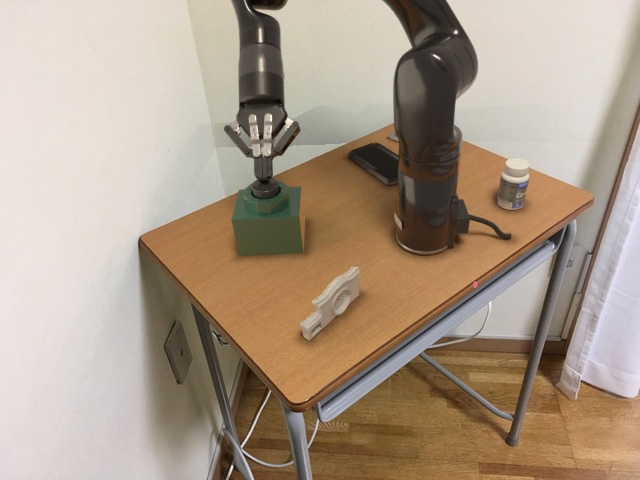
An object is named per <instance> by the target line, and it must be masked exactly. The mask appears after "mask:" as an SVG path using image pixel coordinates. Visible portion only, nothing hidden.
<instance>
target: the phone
mask: <svg viewBox="0 0 640 480" xmlns="http://www.w3.org/2000/svg"><path fill="white" fill-rule="evenodd" d="M348 158H349V159H350V160H351V161H352V162H354V163H355V164H357V165H358V166H360V167H361V168H363V169H364V170H365V171H367V172H368V173H369V174H371V175H372V176H374V177H375V178H376V179H377V180H378V181H380V182H382V183H383V184H384V185H387V186H394V185H396V184H398V160H399V154H397V153H395V152H394V151H393V150H391V149H389V148H387V147H386V146H384V145H383V144H381V143H379V142H371V143H367V144H365V145H362V146H359V147H357V148H354V149H351V150H350V151H349V152H348Z"/></svg>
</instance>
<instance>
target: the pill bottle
mask: <svg viewBox="0 0 640 480" xmlns="http://www.w3.org/2000/svg"><path fill="white" fill-rule="evenodd" d="M530 166H531V165H530V162H529V161H528V160H526V159H523V158H520V157H519V158H518V157H514V158H513V157H512V158H509V159H507V160H505V163H504V169H503V170H502V172H501V174H500V179H499V185H498V191H497V197H496V204H497V206H499V208H502V209H504V210H507V211H517V210H520V209H521V208H522V207H524V204H525V200H526V196H527V192H528V185H529V181H530V173H529V172H530Z"/></svg>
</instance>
